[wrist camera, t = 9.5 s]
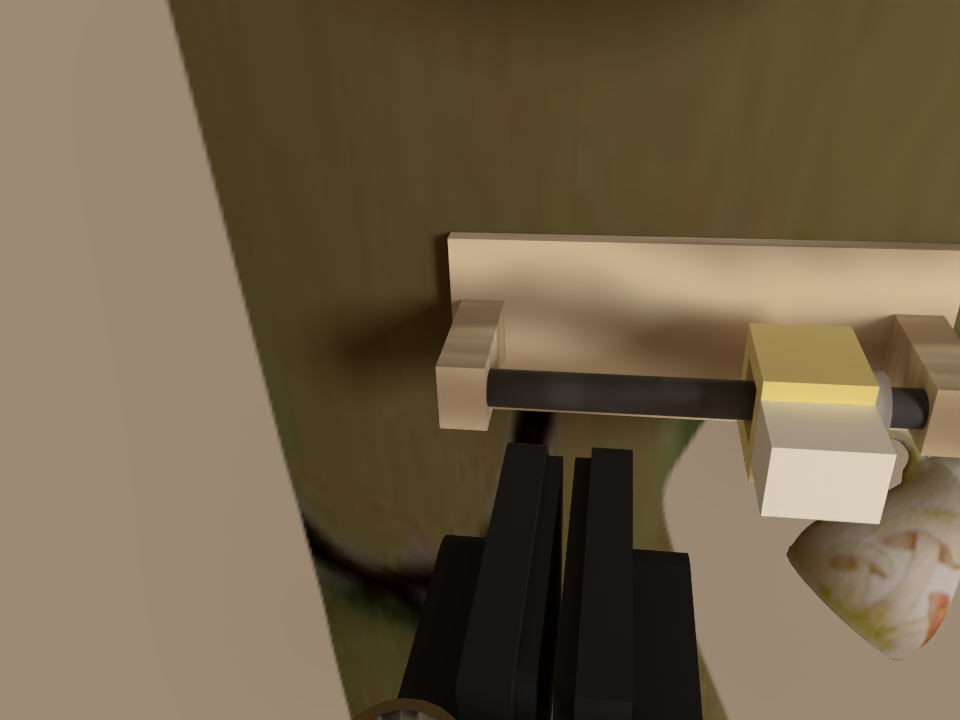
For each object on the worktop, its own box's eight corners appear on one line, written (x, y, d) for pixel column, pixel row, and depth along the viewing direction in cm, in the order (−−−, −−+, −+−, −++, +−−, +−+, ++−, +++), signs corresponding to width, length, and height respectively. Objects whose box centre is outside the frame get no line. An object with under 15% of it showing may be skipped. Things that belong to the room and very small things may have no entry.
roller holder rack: (450, 232, 39) (415, 303, 33) (967, 243, 36) (1039, 325, 30) (460, 398, 44) (431, 489, 37) (920, 422, 40) (973, 526, 34)
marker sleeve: (748, 322, 35) (775, 428, 29) (851, 326, 35) (902, 434, 28) (736, 416, 37) (758, 533, 31) (832, 421, 37) (875, 541, 30)
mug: (1037, 472, 41) (1047, 685, 36) (849, 496, 49) (837, 675, 44) (958, 400, 38) (957, 623, 33) (769, 438, 45) (746, 624, 41)
